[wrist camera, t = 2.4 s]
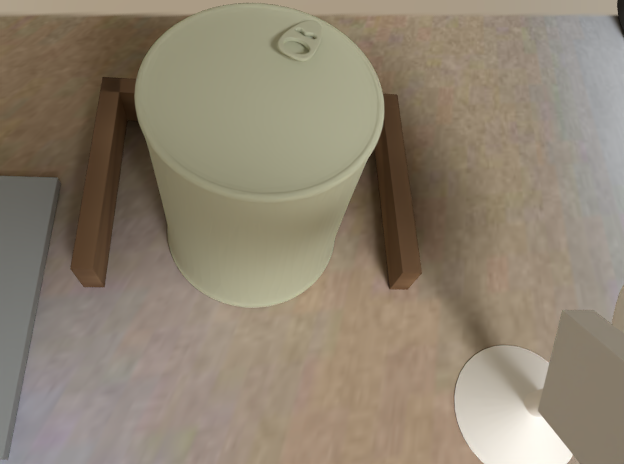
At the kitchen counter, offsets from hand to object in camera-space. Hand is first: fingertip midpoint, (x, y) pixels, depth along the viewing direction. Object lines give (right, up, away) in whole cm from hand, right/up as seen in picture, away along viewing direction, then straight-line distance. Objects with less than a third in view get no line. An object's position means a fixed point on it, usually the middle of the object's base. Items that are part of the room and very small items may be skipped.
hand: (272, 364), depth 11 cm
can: (-2, +3, +18) cm, 19 cm away
